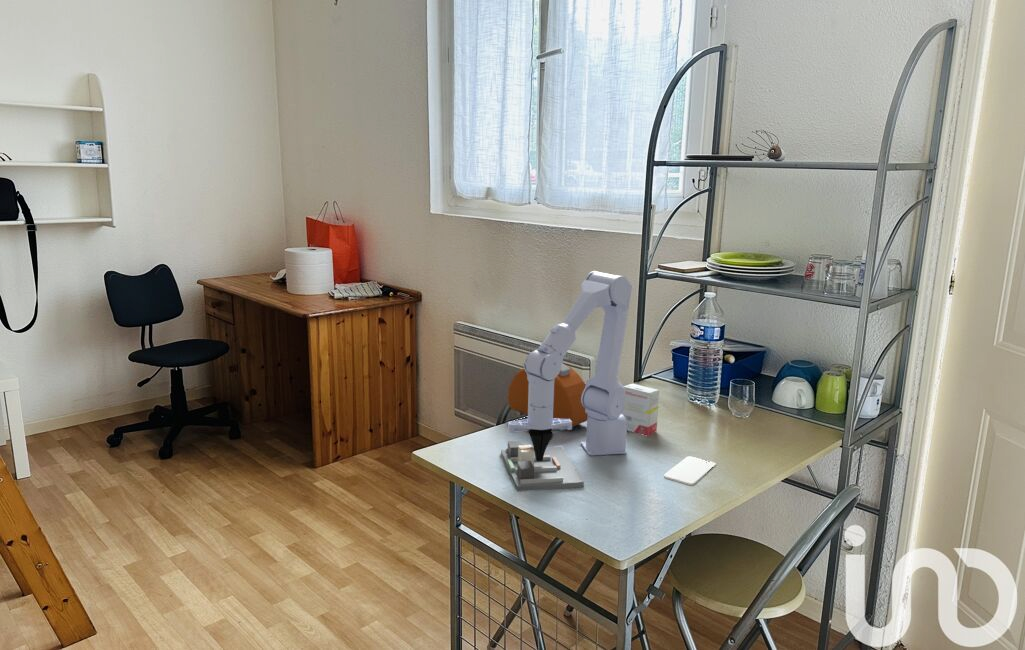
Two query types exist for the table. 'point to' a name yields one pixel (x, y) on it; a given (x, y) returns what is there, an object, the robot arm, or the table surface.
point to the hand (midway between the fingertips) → (538, 459)
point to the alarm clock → (565, 395)
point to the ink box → (641, 409)
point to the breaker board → (541, 470)
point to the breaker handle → (526, 453)
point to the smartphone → (689, 470)
